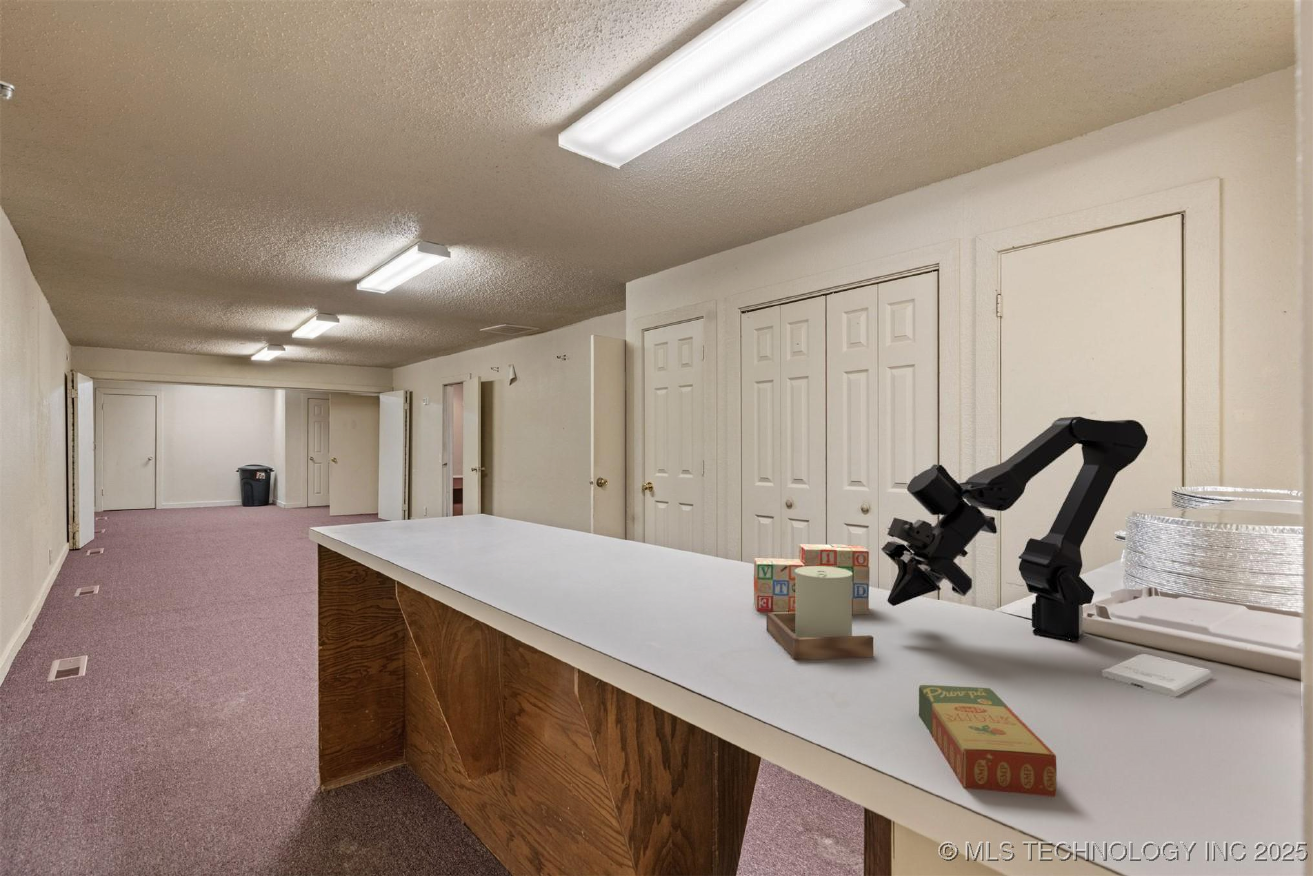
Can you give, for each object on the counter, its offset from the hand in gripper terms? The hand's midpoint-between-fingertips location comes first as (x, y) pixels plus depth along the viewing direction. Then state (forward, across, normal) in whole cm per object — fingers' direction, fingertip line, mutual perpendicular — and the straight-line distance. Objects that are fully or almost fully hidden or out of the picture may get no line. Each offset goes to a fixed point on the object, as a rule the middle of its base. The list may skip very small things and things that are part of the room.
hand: (890, 603), depth 100 cm
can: (+12, 0, -4) cm, 13 cm away
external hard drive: (-15, +19, +26) cm, 35 cm away
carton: (+10, +35, -1) cm, 37 cm away
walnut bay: (+13, 0, -4) cm, 13 cm away
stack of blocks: (+9, -20, 0) cm, 22 cm away
